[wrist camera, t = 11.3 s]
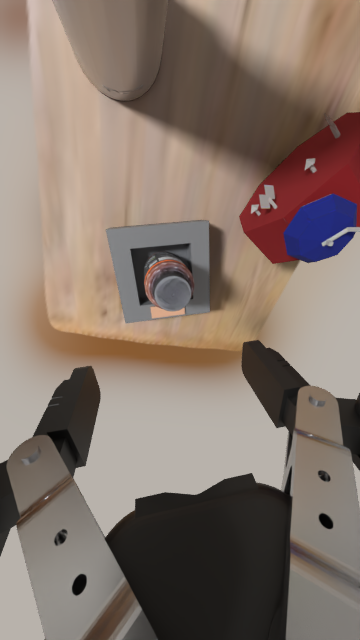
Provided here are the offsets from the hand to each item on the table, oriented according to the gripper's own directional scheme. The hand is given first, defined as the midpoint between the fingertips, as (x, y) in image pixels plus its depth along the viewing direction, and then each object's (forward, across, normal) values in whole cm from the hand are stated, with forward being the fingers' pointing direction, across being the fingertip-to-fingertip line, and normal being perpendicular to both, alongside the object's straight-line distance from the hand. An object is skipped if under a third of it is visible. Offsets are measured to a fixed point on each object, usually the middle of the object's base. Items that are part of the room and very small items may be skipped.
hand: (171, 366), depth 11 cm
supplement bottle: (+24, -2, +1) cm, 24 cm away
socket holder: (+24, -1, +1) cm, 24 cm away
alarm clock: (+25, -18, -8) cm, 32 cm away
